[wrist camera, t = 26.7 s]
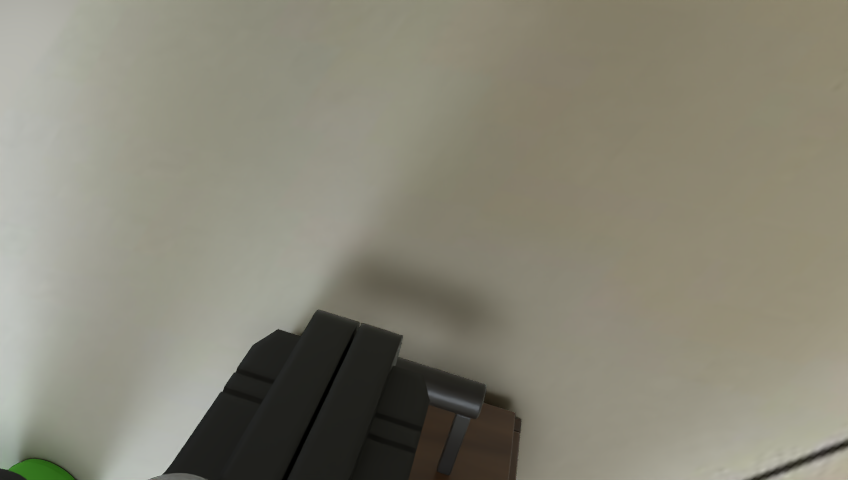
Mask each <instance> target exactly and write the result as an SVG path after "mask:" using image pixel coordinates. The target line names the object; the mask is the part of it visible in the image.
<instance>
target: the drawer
mask: <svg viewBox="0 0 848 480" xmlns="http://www.w3.org/2000/svg"><path fill="white" fill-rule="evenodd" d="M396 366H397V367H400V368H403V369H406V370H409V371H413V372H416V373H419V374H422V375H424V379H425V383H426V387H427V391H428V396H429V400H430V402H429V406H428V410H427V413H426V417H425V421H424V424H423V428H422V431H421V435H420V439H419V443H418V446H417V450H416V453H415V457H414V461H413V465H412V468H411V472H410V476H409V479H408V480H509V472H510V462H511V453H512V443H513V433H514V424H515V412H512V411H508V410H505V409H502V408H499V407H496V406H493V405H489V404H486V403H483V402H484V398H485V393H486V385H485V384H483V383H480V382H477V381H473V380H470V379H467V378H464V377H461V376H457V375H454V374H451V373H448V372H445V371H441V370H438V369H435V368H432V367H429V366H425V365H422V364H419V363H416V362H413V361H409V360H406V359H403V358H400V357H398V358H397V362H396Z"/></svg>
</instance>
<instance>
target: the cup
mask: <svg viewBox="0 0 848 480" xmlns="http://www.w3.org/2000/svg"><path fill="white" fill-rule="evenodd" d="M9 471H12V472H15V473H17V474H20V475H21V476H23V477H24V478H26V479H27V480H75V479H74V478H73V477H72V476H71V475H70V474H69V473H67V472H66V471H65V470H63V469H62V468H60V467H59V466H57V465H55V464H53V463H50V462H48V461H44V460H40V459H27V460H25V461H23V462H21V463H18V464H16V465H14V466H12V467H11V468H10V469H9Z"/></svg>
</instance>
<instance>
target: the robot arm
mask: <svg viewBox="0 0 848 480" xmlns="http://www.w3.org/2000/svg"><path fill="white" fill-rule="evenodd" d="M359 326H360V323H359V322H357V321H354V320H351V319H348V318H344V317H341V316H338V315H335V314H332V313H328V312H325V311H322V310H317V311H316V312H315V314H314V315H313V317H312V319H311V320H310V322H309V324H308V325H307V327H306V329H305V330H304V332H303V334H302V336H298V335H295V334H291V333H288V332H285V331H282V330H279V329H278V330H276V331H275V332H273V333H271V334H270V335H268V336H267V337H265V338H263V339H262V340H260V341H259V342H257V343H255V344H254V345H253V346H252V347H251V349H250V350H249V352H248V353H247V354H246V356H245V357H244V359H243V360H242V362H241V363H240V365H239V366H238V368H237V371H236V373H235V372H234V373H233V375H232V376H231V378H230V379H229V381H228V382H227V384H226V385H225V387H224V390H223V392H220V394H219V395H218V397H217V398H216V400H215V401H214V403H213V404H212V406H211V407H210V408H209V410H208V411H207V413H206V414H205V416H204V417H203V419H202V420H201V422H200V423H199V425H198V426H197V427H196V429H195V430H194V432H193V433H192V435H191V436H190V438H189V439H188V441H187V442H186V444H185V445H184V446H183V448H182V449H181V451H180V452H179V454H178V455H177V457H176V458H175V460H174V461H173V462H172V464H171V465H170V466H169V468H168V469H167V470H166V471H165V472H164V473H163V474H162V475H161V476H157V477H154V478H151V479H149V480H408V479H409V476H410V472H411V468H412V465H413V461H414V457H415V453H416V450H417V446H418V443H419V439H420V435H421V431H422V428H423V424H424V421H425V417H426V413H427V410H428V406H429V402H430V400H429V396H428V391H427V387H426V383H425V379H424V375H422V374H419V373H416V372H413V371H409V370H406V369H403V368H400V367H397V366H396V362H397V358H398V355H399V351H400V347H401V344H402V339H403V335H399V334H396V333H393V332H390V331H387V330H383V329H380V328H377V327H374V326H371V325H367V324H364V323H362V324H361V326H360V327H359ZM0 480H27V479H26V478H24V477H23V476H21V475H20V474H17V473H15V472H12V471H9V470H5V469H0Z"/></svg>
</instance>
